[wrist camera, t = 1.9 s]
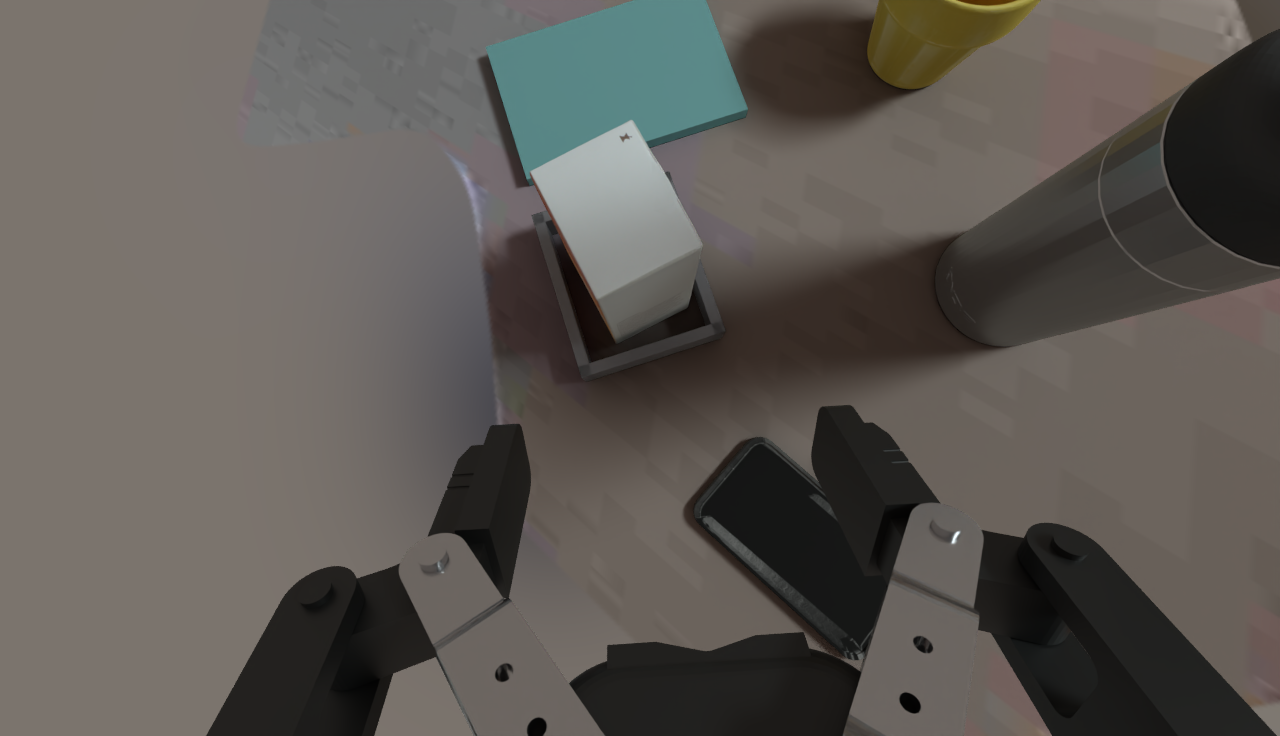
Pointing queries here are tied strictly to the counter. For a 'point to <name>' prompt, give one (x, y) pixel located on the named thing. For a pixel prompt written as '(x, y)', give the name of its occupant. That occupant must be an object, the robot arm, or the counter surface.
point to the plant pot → (936, 35)
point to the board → (616, 78)
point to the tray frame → (637, 355)
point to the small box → (622, 229)
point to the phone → (792, 543)
